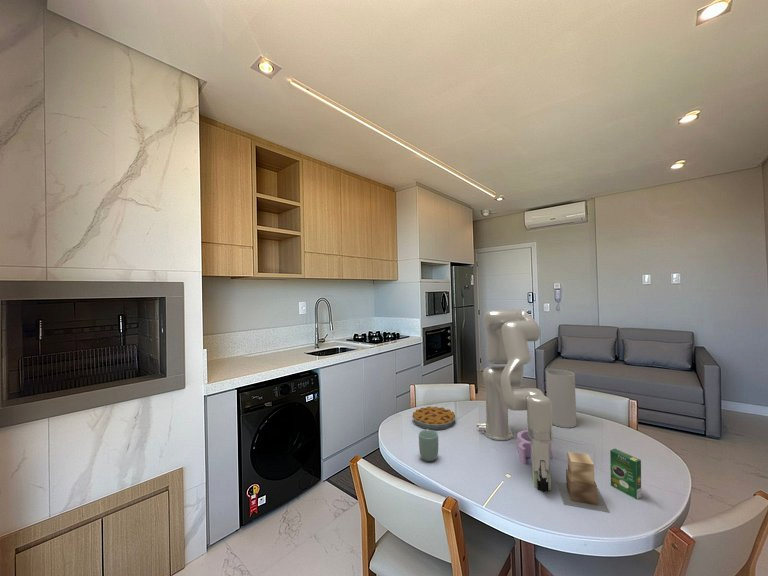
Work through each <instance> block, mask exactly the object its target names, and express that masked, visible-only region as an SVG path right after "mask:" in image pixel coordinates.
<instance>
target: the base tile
mask: <svg viewBox="0 0 768 576" xmlns="http://www.w3.org/2000/svg"><path fill="white" fill-rule="evenodd" d="M556 485H557V487H558V491H559V494H560V497H561V500H562V503H563V505H564V506H568V507H569V506H570V507H576V508H581V509H586V510H593V511H597V512H601V513H602V512H603V513H609V514H611V511H610V509H609V507H608V506H607V504H606V501H605V500H604V497H603V496H602V494H601V492H600V490H599V487H597V500H598V506H597V505H592V504H586V503H580V502H575V501H571V499H570V496H569V493H568V490H567V484H566V482H560V481H556Z"/></svg>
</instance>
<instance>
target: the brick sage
mask: <svg viewBox="0 0 768 576" xmlns="http://www.w3.org/2000/svg"><path fill="white" fill-rule="evenodd" d="M531 468H532V471H531V472H532V482H533V487H534V488H536V489H538V488H537V479H538V471H534V470H533V467H531ZM539 470H541V468H539ZM540 475H541V473H540ZM551 477H552V475H551V472H549V473H547V478H548V489H549V491H552V478H551Z"/></svg>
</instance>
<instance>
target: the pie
mask: <svg viewBox="0 0 768 576" xmlns="http://www.w3.org/2000/svg"><path fill="white" fill-rule="evenodd" d="M411 416H412V417H411V418H413V421H414V423H415V424H416V425H417V426H419V427H421V428H423V429H426V430H433V431H439V430H444V429H447V428H450V427H451V426H452V425H453V423H454V421H455V420H456V414H455V412H454V411H451V409H446V408H444V407H442V406H441V407H438V406H426V407H420V408H419V409H416V410H415V411H413V413H412V415H411Z"/></svg>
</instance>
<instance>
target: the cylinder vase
mask: <svg viewBox="0 0 768 576" xmlns="http://www.w3.org/2000/svg"><path fill="white" fill-rule="evenodd" d="M575 375H576V374H575V373H574V372H573V371H569V370H564V369H548V370H546V371H545V376H546V377H545V383H546V397H548V398H549V399H550V400H551V406H552V426H554V427H558V428H564V429H565V428H567V429H568V428H569V429H571V428H574V427H576V426H577V403H576V400H577V399H576V380H575V379H576V376H575Z"/></svg>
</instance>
